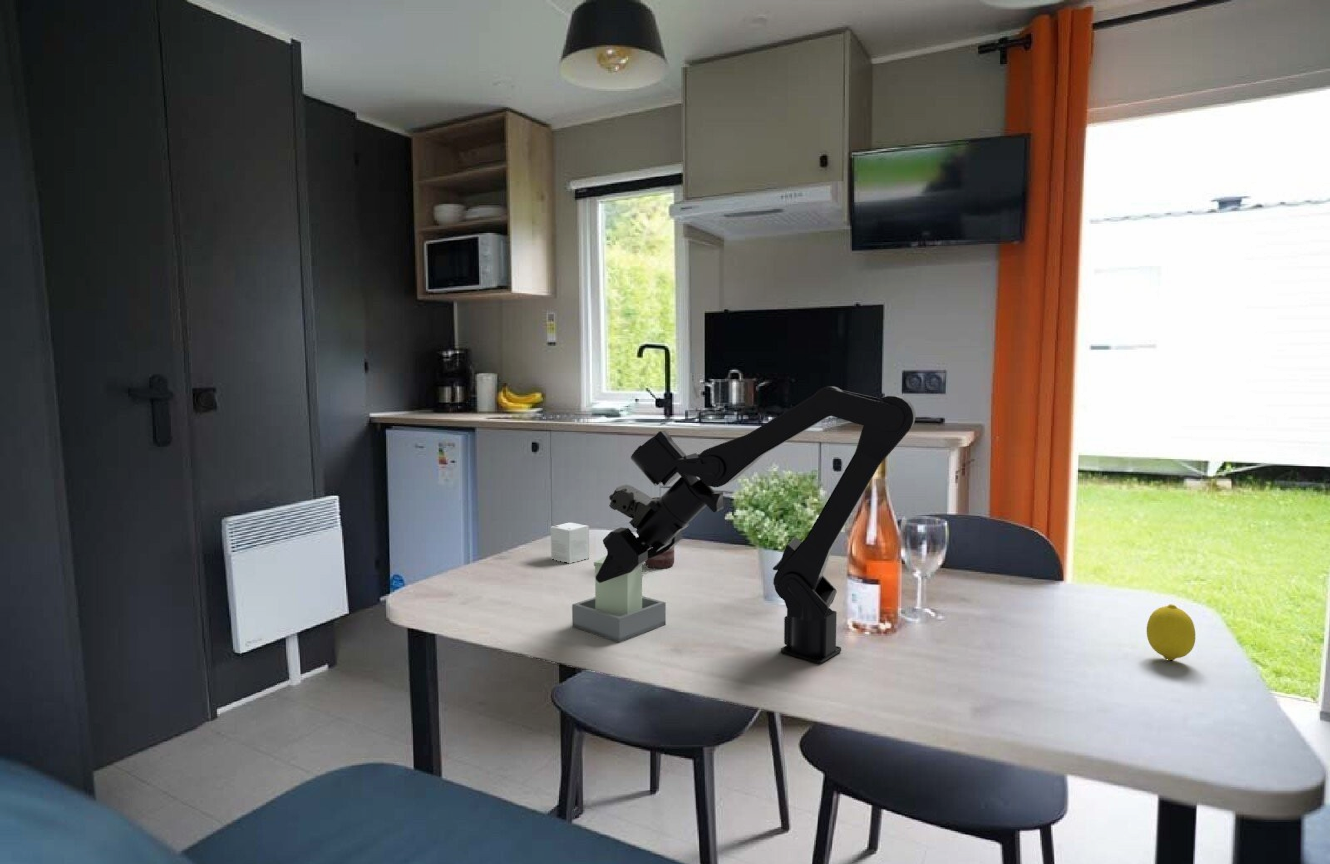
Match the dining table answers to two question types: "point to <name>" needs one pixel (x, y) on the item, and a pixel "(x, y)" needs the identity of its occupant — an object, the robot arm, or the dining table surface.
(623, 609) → the small green box
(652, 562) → the can
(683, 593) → the dining table surface
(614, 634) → the crate
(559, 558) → the skincare box
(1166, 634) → the lemon
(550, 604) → the dining table surface
